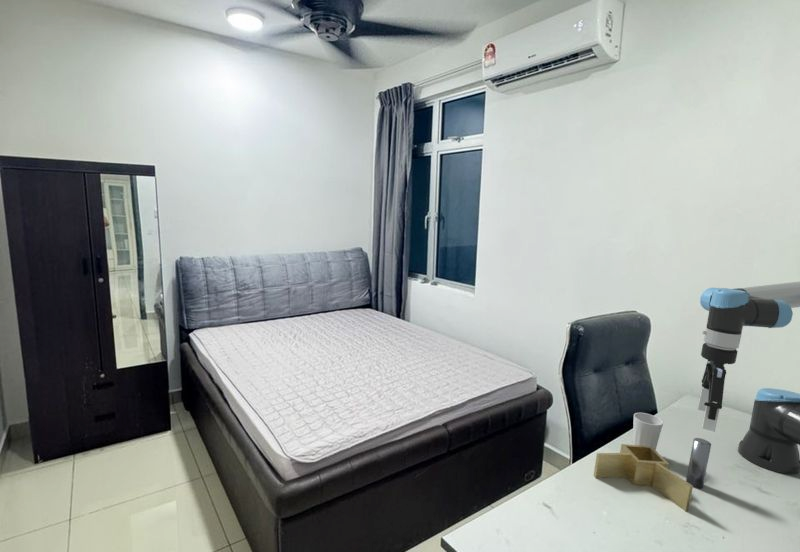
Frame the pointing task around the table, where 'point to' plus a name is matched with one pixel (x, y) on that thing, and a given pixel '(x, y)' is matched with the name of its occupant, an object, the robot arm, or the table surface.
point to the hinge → (644, 472)
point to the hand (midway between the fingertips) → (705, 419)
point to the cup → (646, 430)
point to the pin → (698, 462)
